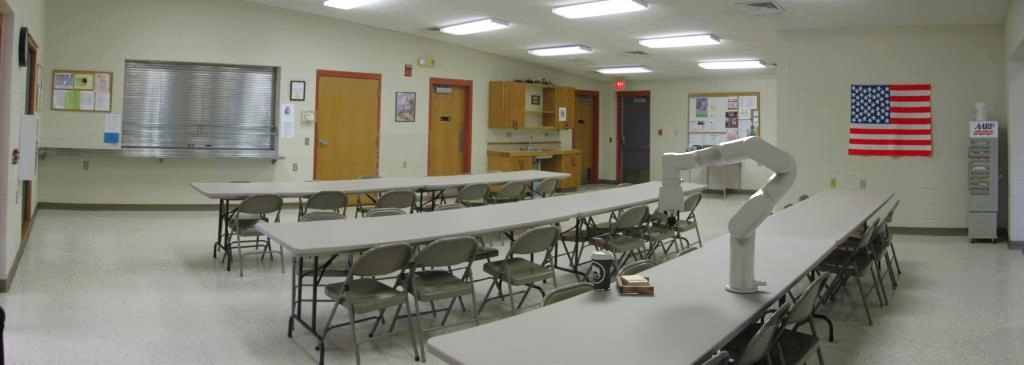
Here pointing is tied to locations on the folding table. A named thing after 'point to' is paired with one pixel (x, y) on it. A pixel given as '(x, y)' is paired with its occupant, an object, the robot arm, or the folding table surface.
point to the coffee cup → (601, 269)
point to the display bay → (634, 287)
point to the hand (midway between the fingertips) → (671, 226)
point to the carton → (634, 280)
